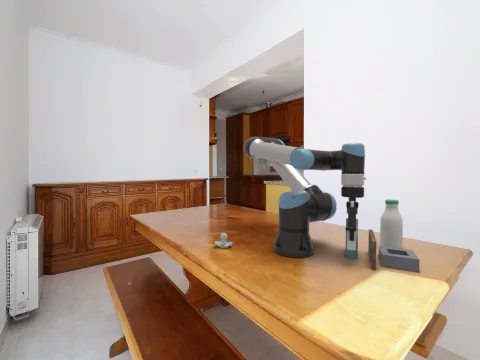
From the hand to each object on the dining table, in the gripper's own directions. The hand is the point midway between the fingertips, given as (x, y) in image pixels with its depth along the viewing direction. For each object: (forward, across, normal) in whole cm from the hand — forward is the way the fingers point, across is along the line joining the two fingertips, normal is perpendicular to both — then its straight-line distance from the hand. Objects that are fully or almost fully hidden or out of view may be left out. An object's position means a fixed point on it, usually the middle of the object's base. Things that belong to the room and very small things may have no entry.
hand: (351, 244), depth 84 cm
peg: (+5, 0, 0) cm, 5 cm away
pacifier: (+5, -10, +48) cm, 49 cm away
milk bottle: (+5, +19, -14) cm, 24 cm away
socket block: (+5, 0, -14) cm, 15 cm away
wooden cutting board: (+5, 0, -6) cm, 8 cm away
